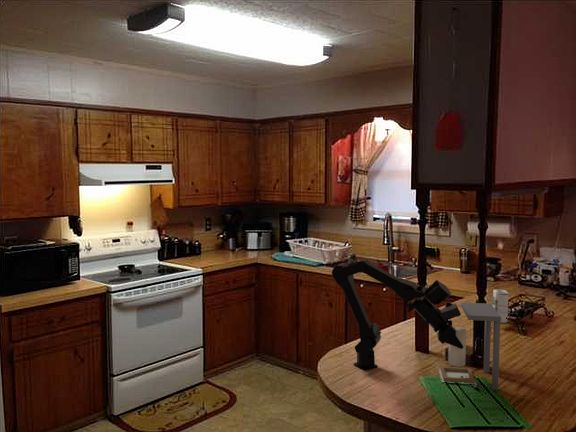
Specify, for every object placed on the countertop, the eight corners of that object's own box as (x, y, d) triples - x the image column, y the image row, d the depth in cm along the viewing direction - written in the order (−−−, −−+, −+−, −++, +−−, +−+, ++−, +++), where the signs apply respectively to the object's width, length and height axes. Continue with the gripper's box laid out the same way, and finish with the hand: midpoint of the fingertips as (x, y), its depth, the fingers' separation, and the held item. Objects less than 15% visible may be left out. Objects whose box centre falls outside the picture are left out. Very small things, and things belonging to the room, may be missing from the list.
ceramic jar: (444, 362, 178) (445, 328, 177) (456, 359, 181) (456, 326, 180) (457, 367, 173) (458, 333, 172) (468, 364, 176) (469, 330, 175)
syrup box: (491, 319, 244) (492, 289, 243) (504, 319, 243) (505, 289, 242) (494, 322, 238) (495, 292, 237) (508, 323, 238) (509, 292, 236)
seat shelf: (443, 386, 170) (444, 314, 168) (438, 367, 186) (439, 301, 184) (498, 390, 167) (501, 316, 165) (488, 370, 183) (490, 303, 180)
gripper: (450, 303, 167) (484, 338, 166) (443, 290, 185) (474, 321, 184) (424, 326, 169) (458, 360, 168) (420, 310, 187) (450, 341, 186)
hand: (461, 344), depth 176 cm, fingers closed on ceramic jar, 6 cm apart
